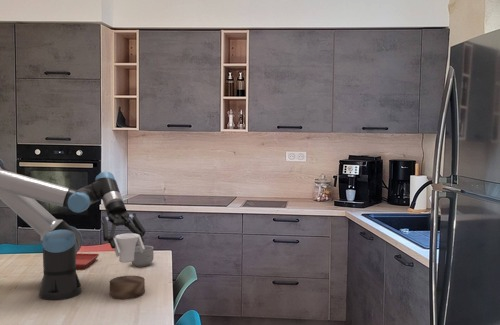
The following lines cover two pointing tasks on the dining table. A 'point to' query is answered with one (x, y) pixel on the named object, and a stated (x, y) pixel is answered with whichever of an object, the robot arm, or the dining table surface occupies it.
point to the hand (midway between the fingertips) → (131, 252)
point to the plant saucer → (85, 260)
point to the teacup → (143, 256)
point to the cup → (127, 246)
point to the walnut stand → (127, 287)
